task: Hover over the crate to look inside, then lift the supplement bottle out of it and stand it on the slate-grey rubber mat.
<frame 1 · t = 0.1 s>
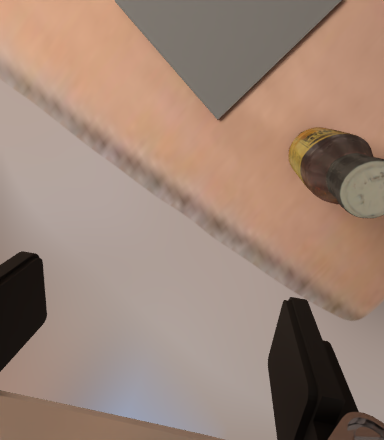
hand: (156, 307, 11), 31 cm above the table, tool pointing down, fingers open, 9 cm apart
mat: (224, 1, 34), on the table
sauce bottle: (309, 151, 38), on the table
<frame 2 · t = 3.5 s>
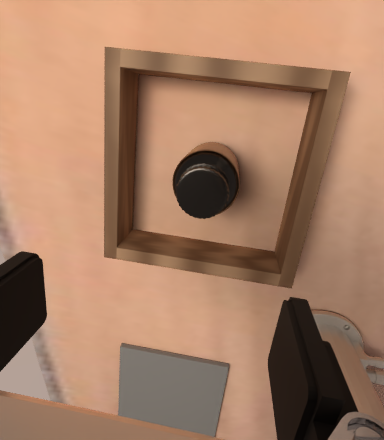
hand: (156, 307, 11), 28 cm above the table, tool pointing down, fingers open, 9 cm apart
supplement bottle: (211, 168, 38), resting in crate
crate: (211, 169, 38), on the table
mat: (170, 392, 52), on the table
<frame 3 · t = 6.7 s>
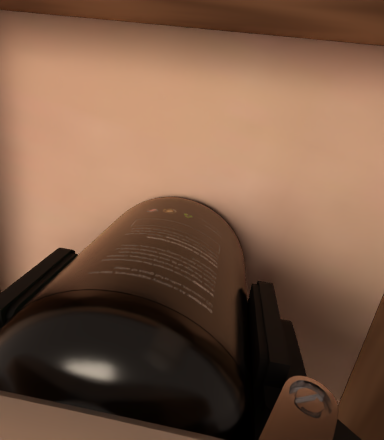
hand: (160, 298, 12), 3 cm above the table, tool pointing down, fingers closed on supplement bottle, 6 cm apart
supplement bottle: (176, 257, 15), resting in crate, touching gripper
crate: (175, 259, 15), on the table
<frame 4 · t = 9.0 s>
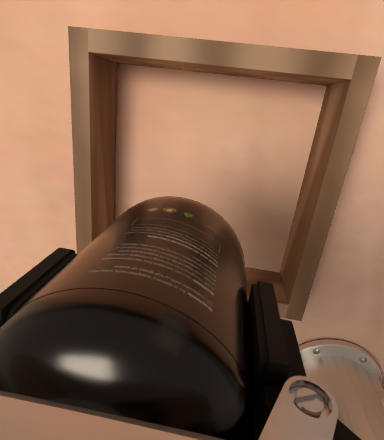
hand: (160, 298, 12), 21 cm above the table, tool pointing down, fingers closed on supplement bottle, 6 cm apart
supplement bottle: (176, 257, 15), point 18 cm above the table, touching gripper
crate: (205, 177, 32), on the table
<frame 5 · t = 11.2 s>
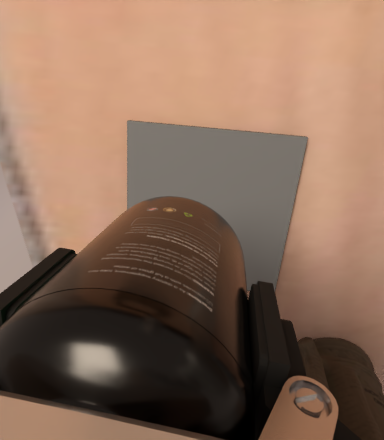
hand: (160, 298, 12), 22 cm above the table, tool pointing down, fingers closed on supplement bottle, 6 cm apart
supplement bottle: (176, 256, 15), point 18 cm above the table, touching gripper
mat: (206, 211, 33), on the table
beer stein: (315, 356, 38), on the table
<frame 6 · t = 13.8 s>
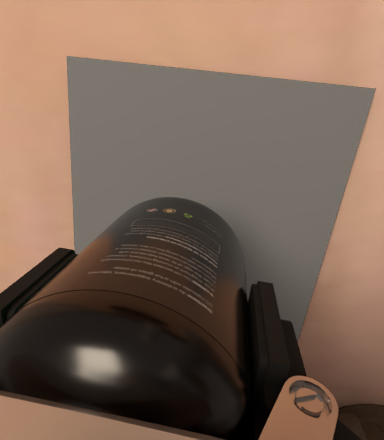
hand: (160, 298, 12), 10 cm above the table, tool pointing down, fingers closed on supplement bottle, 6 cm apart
supplement bottle: (175, 257, 15), point 7 cm above the table, touching gripper
mat: (197, 212, 21), on the table
beer stein: (351, 426, 26), on the table
when the fingers open (5 cm above the table, at t = 15.8 s): supplement bottle drops 1 cm, resting on mat.
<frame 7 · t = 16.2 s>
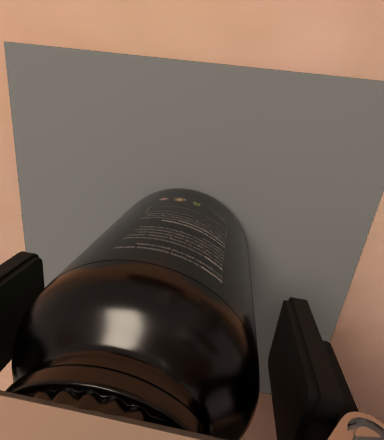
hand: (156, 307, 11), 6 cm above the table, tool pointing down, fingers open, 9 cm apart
supplement bottle: (183, 246, 16), point 1 cm above the table, touching mat
mat: (182, 243, 17), on the table
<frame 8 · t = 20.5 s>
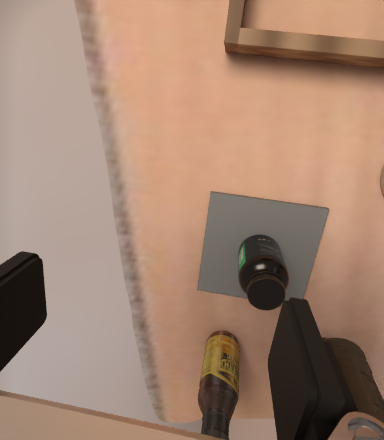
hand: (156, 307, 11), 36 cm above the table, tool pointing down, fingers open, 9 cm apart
supplement bottle: (258, 251, 49), point 1 cm above the table, touching mat
mat: (257, 250, 49), on the table
sauce bottle: (222, 340, 57), on the table
beer stein: (326, 351, 54), on the table
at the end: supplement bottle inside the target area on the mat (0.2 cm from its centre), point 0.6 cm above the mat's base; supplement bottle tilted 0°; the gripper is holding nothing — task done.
